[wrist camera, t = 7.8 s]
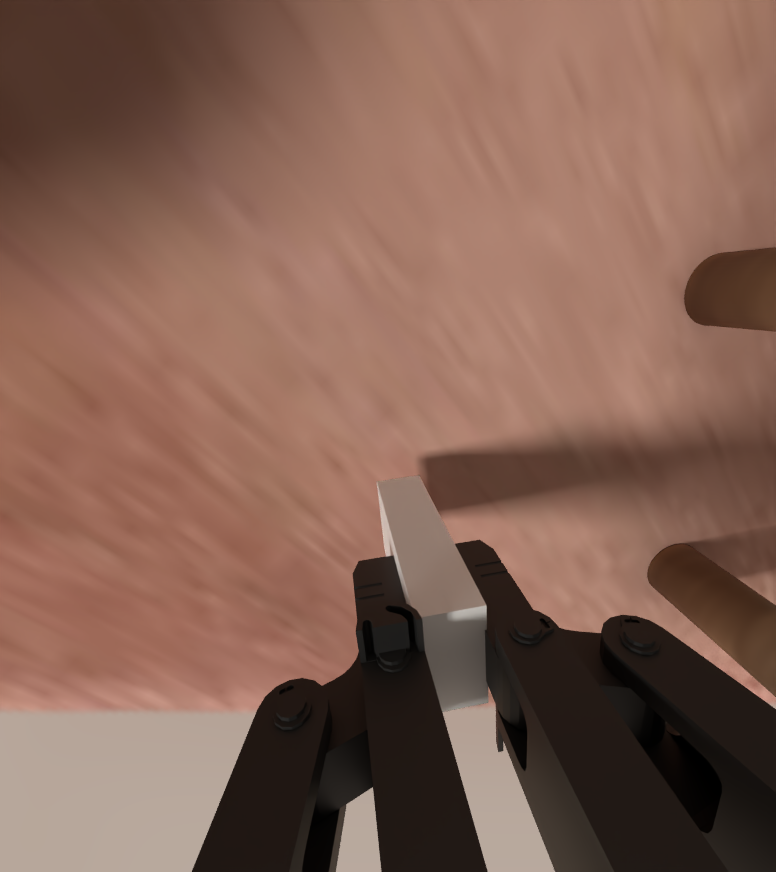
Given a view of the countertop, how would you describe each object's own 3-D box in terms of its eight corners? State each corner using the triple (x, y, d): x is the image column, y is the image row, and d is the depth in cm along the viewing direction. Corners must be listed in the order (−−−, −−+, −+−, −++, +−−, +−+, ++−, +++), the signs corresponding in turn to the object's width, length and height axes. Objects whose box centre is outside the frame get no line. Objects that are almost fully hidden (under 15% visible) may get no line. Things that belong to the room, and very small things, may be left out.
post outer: (650, 549, 20) (896, 742, 11) (701, 540, 20) (978, 721, 11) (644, 594, 21) (868, 805, 12) (693, 585, 21) (945, 785, 12)
